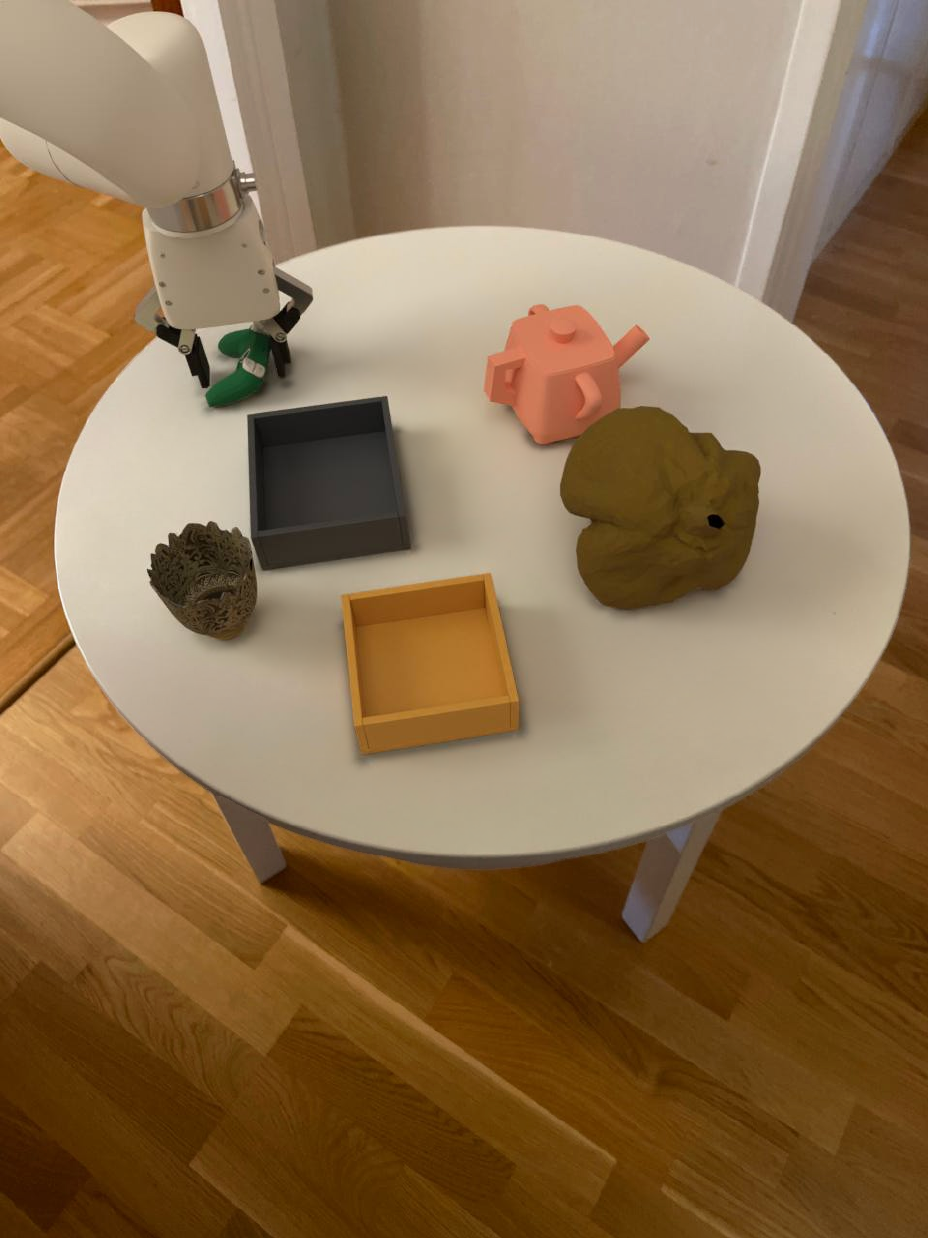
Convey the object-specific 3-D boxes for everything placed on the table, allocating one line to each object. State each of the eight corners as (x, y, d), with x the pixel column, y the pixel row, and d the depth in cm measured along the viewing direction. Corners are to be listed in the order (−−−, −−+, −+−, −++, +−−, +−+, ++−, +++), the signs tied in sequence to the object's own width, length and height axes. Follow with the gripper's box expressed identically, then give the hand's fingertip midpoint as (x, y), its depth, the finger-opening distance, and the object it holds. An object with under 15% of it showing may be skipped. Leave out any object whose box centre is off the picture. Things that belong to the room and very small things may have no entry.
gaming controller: (235, 425, 88) (271, 389, 84) (199, 403, 86) (234, 366, 82) (249, 361, 93) (283, 325, 90) (216, 340, 91) (250, 302, 88)
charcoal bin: (261, 570, 75) (250, 537, 72) (257, 448, 84) (246, 414, 80) (411, 549, 76) (406, 515, 73) (392, 430, 84) (387, 395, 81)
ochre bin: (361, 755, 65) (354, 726, 62) (348, 626, 72) (340, 594, 68) (518, 730, 66) (519, 700, 63) (491, 605, 72) (490, 572, 69)
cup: (159, 647, 71) (125, 583, 65) (209, 576, 75) (181, 509, 69) (244, 676, 69) (217, 613, 63) (290, 602, 73) (269, 535, 67)
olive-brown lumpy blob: (699, 658, 69) (739, 532, 57) (527, 585, 73) (533, 455, 62) (761, 534, 76) (808, 400, 64) (601, 475, 80) (618, 340, 69)
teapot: (644, 391, 86) (658, 301, 78) (591, 474, 80) (600, 385, 72) (531, 355, 90) (534, 265, 82) (473, 432, 84) (470, 343, 76)
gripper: (298, 158, 77) (331, 337, 91) (86, 183, 76) (154, 360, 90) (303, 207, 73) (337, 387, 87) (78, 235, 72) (151, 412, 86)
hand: (243, 372), depth 89 cm, fingers closed on gaming controller, 6 cm apart
